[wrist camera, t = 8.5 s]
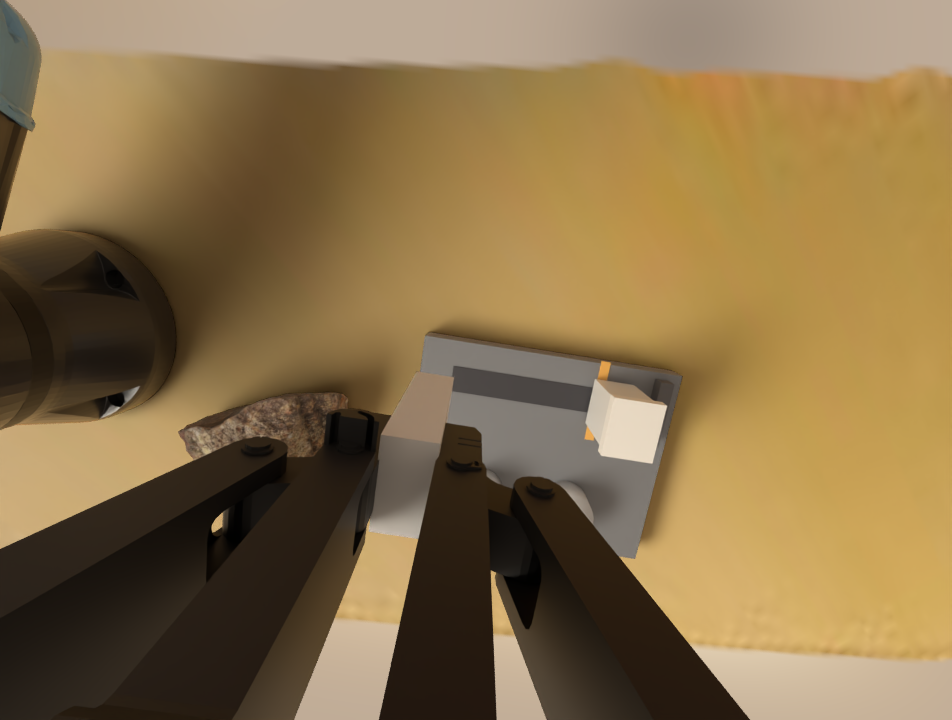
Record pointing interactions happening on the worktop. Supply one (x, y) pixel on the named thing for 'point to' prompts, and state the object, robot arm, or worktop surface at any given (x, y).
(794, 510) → the worktop surface
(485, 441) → the console
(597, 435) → the fader tab
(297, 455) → the rock
